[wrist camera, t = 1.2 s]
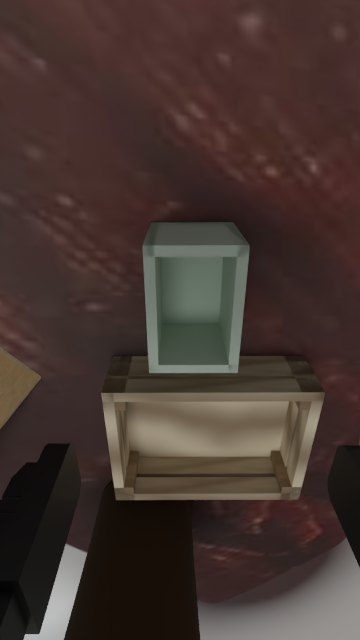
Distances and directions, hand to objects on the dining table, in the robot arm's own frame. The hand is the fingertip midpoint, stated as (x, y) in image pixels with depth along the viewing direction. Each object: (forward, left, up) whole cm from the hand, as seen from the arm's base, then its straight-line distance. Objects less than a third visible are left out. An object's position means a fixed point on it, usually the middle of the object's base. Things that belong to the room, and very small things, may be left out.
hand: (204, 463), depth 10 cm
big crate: (+12, +2, -16) cm, 20 cm away
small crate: (0, 0, -16) cm, 16 cm away
